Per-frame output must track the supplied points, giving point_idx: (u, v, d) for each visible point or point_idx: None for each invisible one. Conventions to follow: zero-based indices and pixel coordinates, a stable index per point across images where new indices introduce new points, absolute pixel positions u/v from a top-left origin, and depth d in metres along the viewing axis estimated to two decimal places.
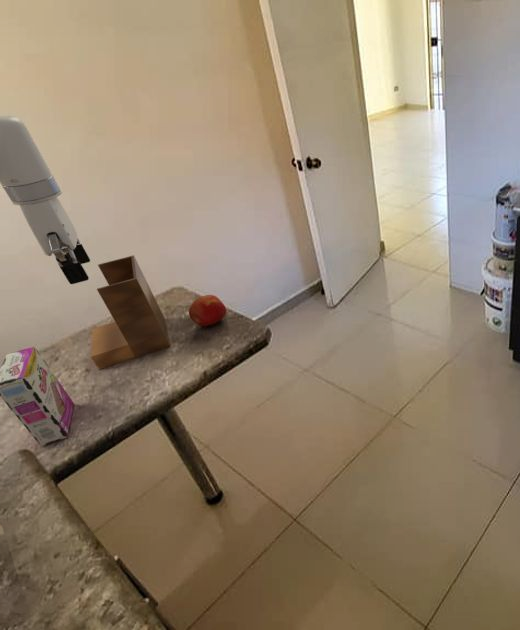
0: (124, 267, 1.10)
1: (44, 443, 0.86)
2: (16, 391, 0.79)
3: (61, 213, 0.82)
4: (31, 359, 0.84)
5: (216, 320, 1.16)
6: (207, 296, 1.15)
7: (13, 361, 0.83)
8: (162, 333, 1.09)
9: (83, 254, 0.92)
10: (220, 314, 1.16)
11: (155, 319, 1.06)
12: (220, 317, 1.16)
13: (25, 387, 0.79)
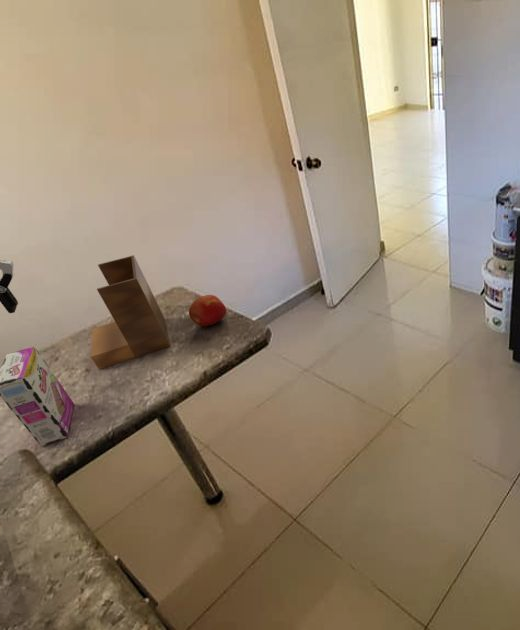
0: (124, 267, 1.10)
1: (44, 443, 0.86)
2: (16, 391, 0.79)
3: None
4: (31, 359, 0.84)
5: (216, 320, 1.16)
6: (207, 296, 1.15)
7: (13, 361, 0.83)
8: (162, 333, 1.09)
9: None
10: (220, 314, 1.16)
11: (155, 319, 1.06)
12: (220, 317, 1.16)
13: (25, 386, 0.79)
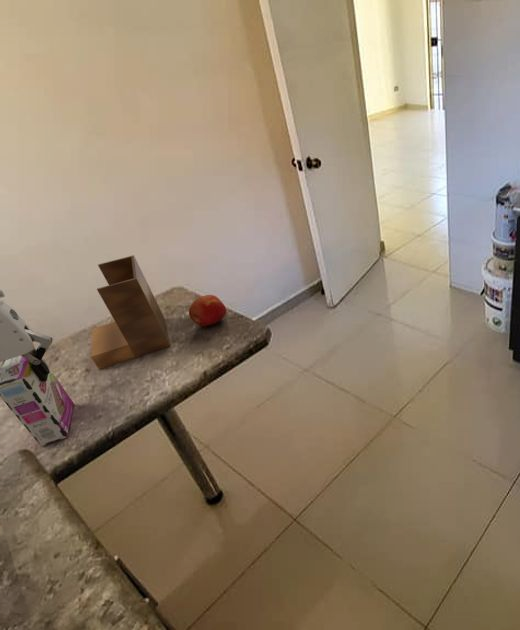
0: (124, 267, 1.10)
1: (44, 443, 0.86)
2: (16, 391, 0.79)
3: None
4: None
5: (216, 320, 1.16)
6: (207, 296, 1.15)
7: (12, 361, 0.83)
8: (162, 333, 1.09)
9: None
10: (220, 314, 1.16)
11: (155, 319, 1.06)
12: (220, 317, 1.16)
13: (24, 387, 0.79)
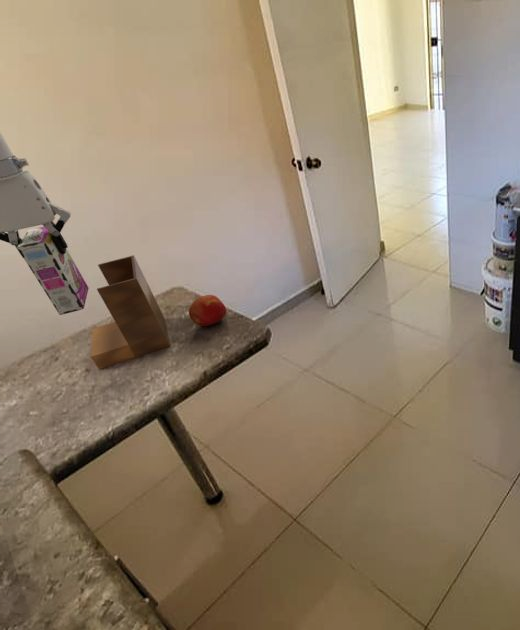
0: (124, 267, 1.10)
1: (62, 312, 0.94)
2: (38, 255, 0.88)
3: None
4: None
5: (216, 320, 1.16)
6: (207, 296, 1.15)
7: (34, 233, 0.91)
8: (162, 333, 1.09)
9: None
10: (220, 314, 1.16)
11: (155, 319, 1.06)
12: (220, 317, 1.16)
13: (46, 251, 0.88)
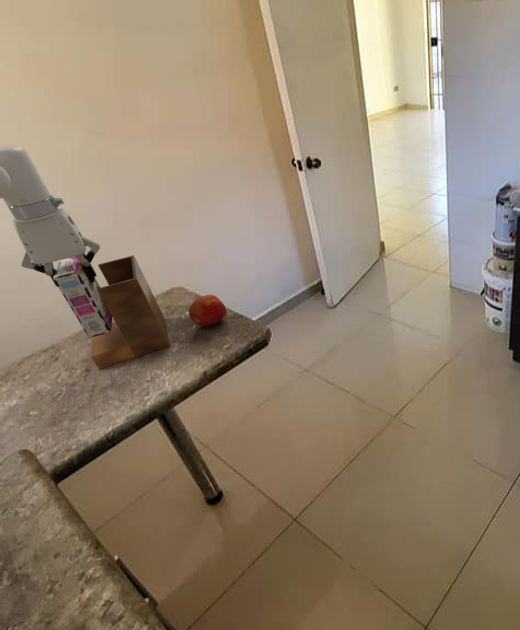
0: (124, 267, 1.10)
1: (91, 335, 1.02)
2: (71, 284, 0.96)
3: (33, 235, 0.91)
4: None
5: (216, 320, 1.16)
6: (207, 296, 1.15)
7: (67, 263, 0.99)
8: (162, 333, 1.09)
9: None
10: (220, 314, 1.16)
11: (155, 319, 1.06)
12: (220, 317, 1.16)
13: (78, 281, 0.96)
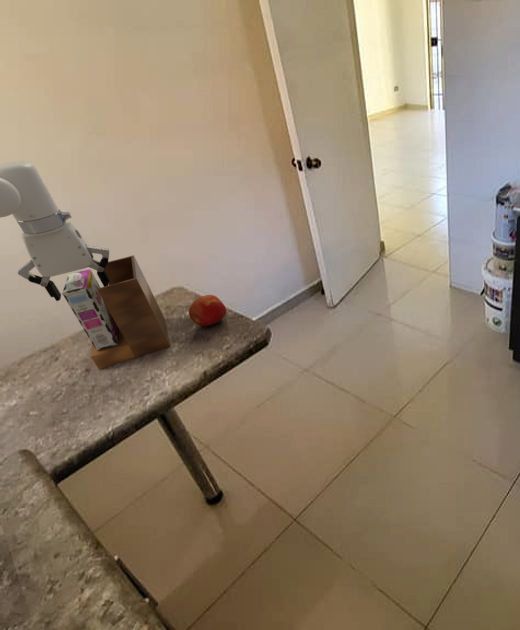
0: (124, 267, 1.10)
1: (99, 348, 1.04)
2: (80, 299, 0.98)
3: (42, 248, 0.92)
4: (89, 277, 1.02)
5: (216, 320, 1.16)
6: (207, 296, 1.15)
7: (75, 278, 1.01)
8: (162, 333, 1.09)
9: None
10: (220, 314, 1.16)
11: (155, 319, 1.06)
12: (220, 317, 1.16)
13: (87, 296, 0.98)
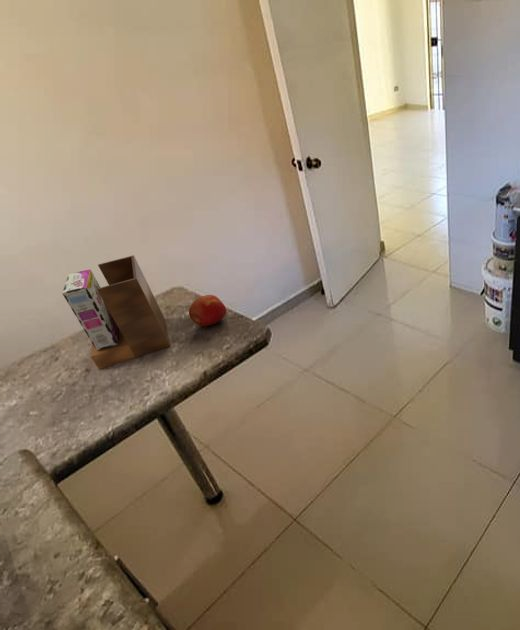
0: (124, 267, 1.10)
1: (99, 348, 1.04)
2: (80, 299, 0.98)
3: None
4: (89, 277, 1.02)
5: (216, 320, 1.16)
6: (207, 296, 1.15)
7: (75, 278, 1.01)
8: (162, 333, 1.09)
9: None
10: (220, 314, 1.16)
11: (155, 319, 1.06)
12: (220, 317, 1.16)
13: (87, 296, 0.98)
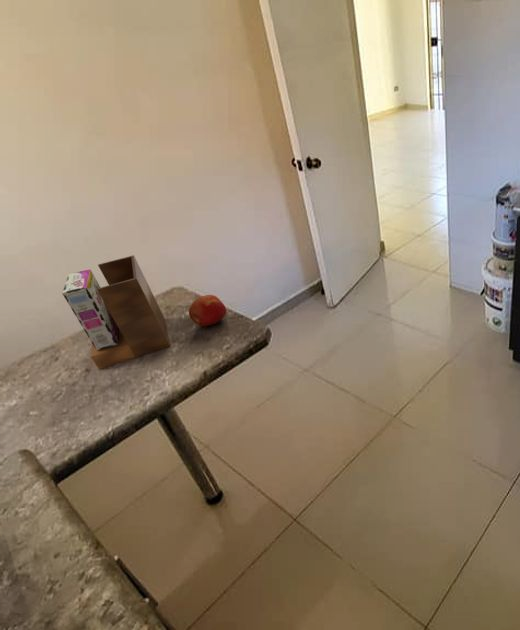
0: (124, 267, 1.10)
1: (99, 348, 1.04)
2: (80, 299, 0.98)
3: None
4: (89, 277, 1.02)
5: (216, 320, 1.16)
6: (207, 296, 1.15)
7: (75, 278, 1.01)
8: (162, 333, 1.09)
9: None
10: (220, 314, 1.16)
11: (155, 319, 1.06)
12: (220, 317, 1.16)
13: (87, 296, 0.98)
